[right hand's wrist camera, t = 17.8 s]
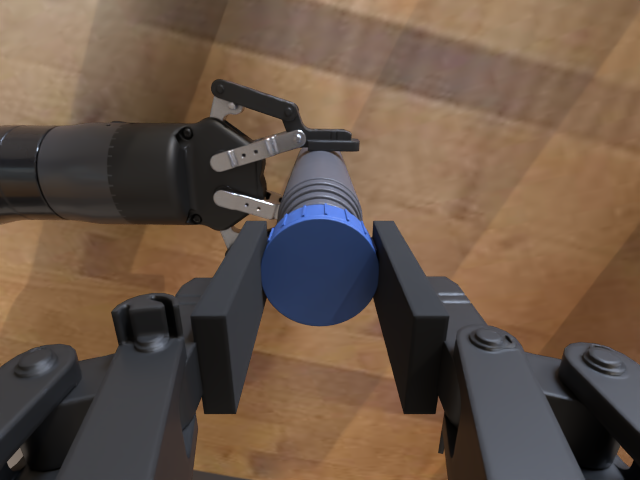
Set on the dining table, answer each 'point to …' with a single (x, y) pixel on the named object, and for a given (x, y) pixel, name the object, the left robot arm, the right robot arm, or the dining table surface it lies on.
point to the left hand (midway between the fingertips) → (355, 177)
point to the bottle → (319, 184)
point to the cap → (319, 266)
